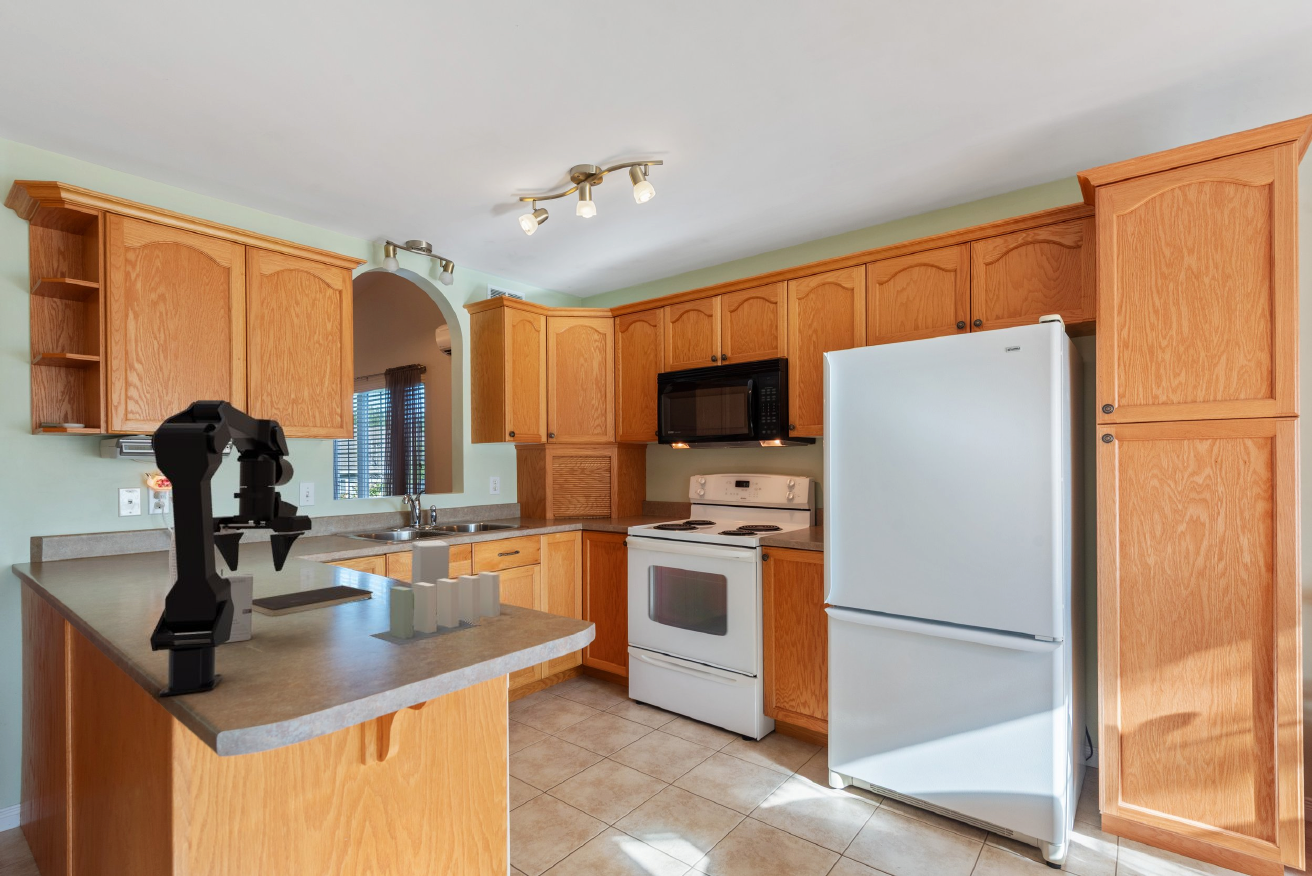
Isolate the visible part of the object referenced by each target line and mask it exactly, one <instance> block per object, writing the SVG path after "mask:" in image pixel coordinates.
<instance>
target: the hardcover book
mask: <svg viewBox="0 0 1312 876" xmlns="http://www.w3.org/2000/svg"><path fill="white" fill-rule="evenodd" d="M372 594H374V591H371V590H367V589H361V588H357V587H352V586H348V585H343V584H342V585H336V586H330V587H323V588H318V589H317V588H316V589H311V590H305V591H299V592H293V593H285V594H280V595H272V596H266V597H260V598H256V599H255V598H254V599H253V598H252V611H254V610H255V611H254V612H257V611H258V612H257V613H260V612H262V613H261V614H263V613H265V614H264V615H267V616H270V617H273V616H274V617H279V615H280V616H284V615H289V614H288V613H291V614H294V613H293V612H296V613H300V612H299V611H302V612H306V611H305V610H307V611H311V610H310V609H313V610H317V609H316V608H318V609H321V608H322V607H323V608H327V607H328V606H329V607H333V606H338V605H339V604H340V605H343V604H342V603H345V604H348V603H347V602H351V601H356V600H361V599H365V598H370V597H371V598H372V597H373V596H372ZM356 602H357V601H356ZM351 603H352V602H351ZM340 605H339V606H340Z"/></svg>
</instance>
